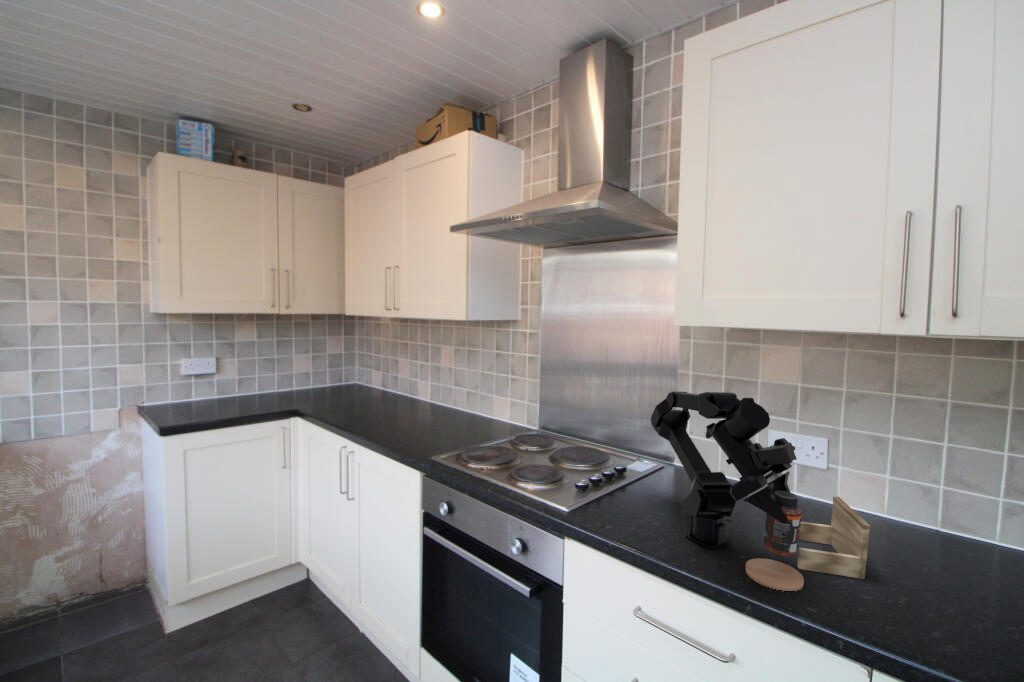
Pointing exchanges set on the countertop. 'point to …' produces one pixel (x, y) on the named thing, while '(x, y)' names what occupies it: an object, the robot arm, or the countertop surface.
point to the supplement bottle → (784, 526)
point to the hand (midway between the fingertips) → (791, 517)
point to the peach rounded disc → (774, 574)
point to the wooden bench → (837, 543)
